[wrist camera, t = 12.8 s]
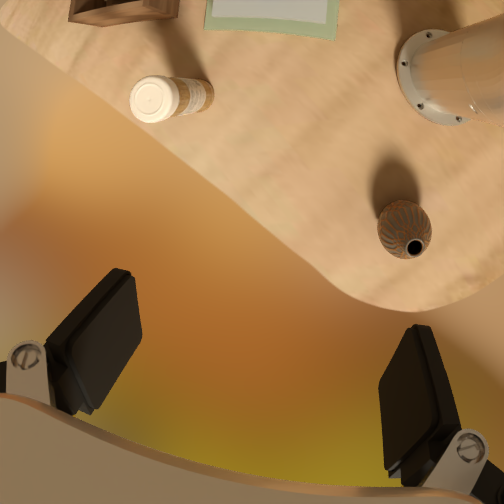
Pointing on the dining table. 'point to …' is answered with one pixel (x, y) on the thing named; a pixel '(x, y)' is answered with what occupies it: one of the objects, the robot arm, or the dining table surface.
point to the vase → (404, 229)
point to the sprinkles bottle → (169, 97)
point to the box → (120, 11)
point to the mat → (277, 24)
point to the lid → (273, 9)
